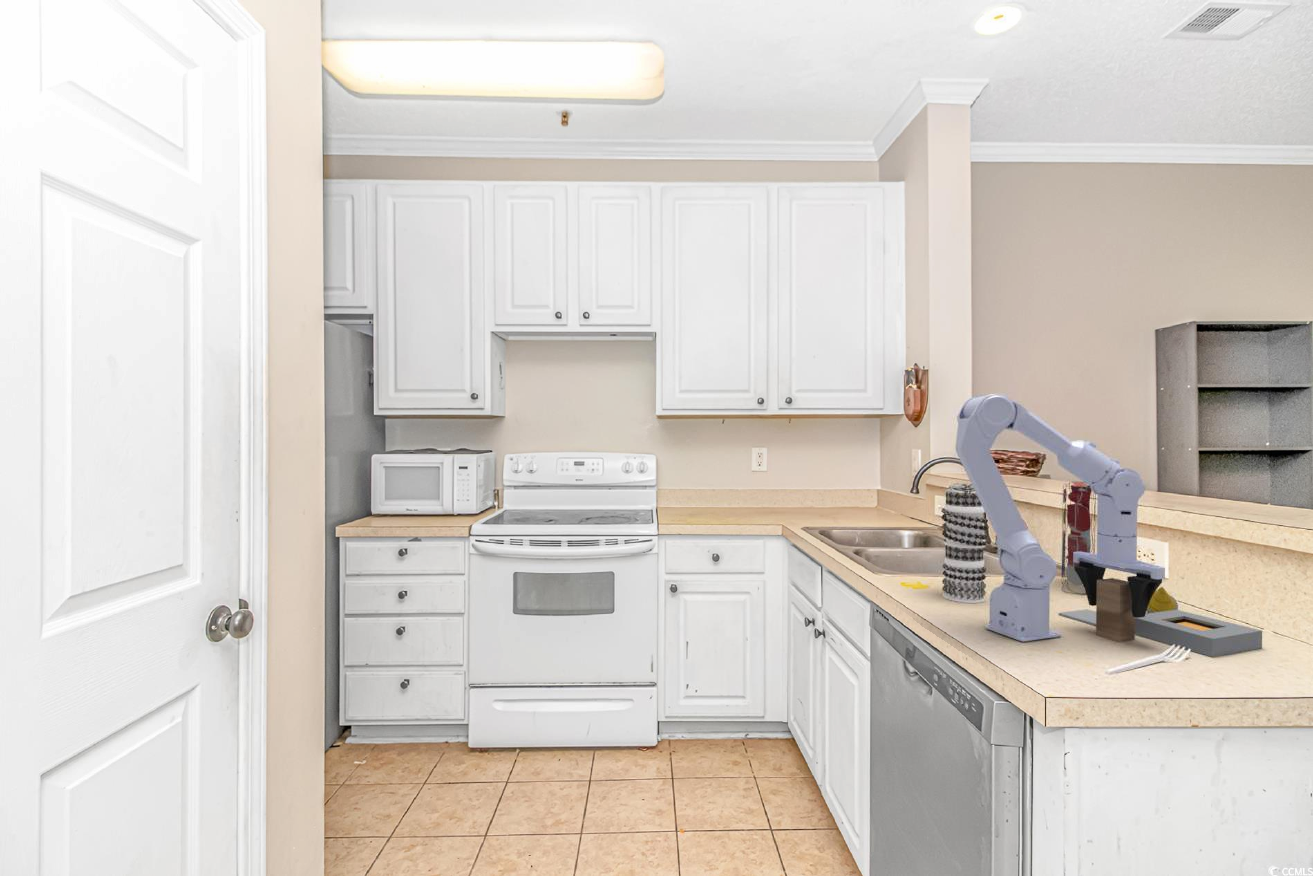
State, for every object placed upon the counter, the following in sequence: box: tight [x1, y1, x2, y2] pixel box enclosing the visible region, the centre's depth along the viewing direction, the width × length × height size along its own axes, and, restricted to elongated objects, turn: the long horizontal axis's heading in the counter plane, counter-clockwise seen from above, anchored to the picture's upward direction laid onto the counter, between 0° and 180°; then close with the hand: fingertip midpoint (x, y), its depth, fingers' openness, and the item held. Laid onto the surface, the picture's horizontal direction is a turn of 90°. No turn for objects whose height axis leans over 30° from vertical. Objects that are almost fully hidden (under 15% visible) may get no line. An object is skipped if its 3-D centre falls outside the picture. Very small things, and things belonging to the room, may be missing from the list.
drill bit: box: [1146, 586, 1179, 614], centre depth 122 cm, size 5×5×10 cm
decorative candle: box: [941, 482, 989, 604], centre depth 136 cm, size 9×9×25 cm
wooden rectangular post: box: [1095, 577, 1136, 643], centre depth 110 cm, size 4×4×10 cm
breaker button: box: [1175, 622, 1211, 631], centre depth 109 cm, size 6×6×1 cm
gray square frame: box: [1135, 609, 1263, 658], centre depth 109 cm, size 13×13×3 cm
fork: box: [1104, 644, 1191, 676], centre depth 98 cm, size 3×20×2 cm, turn 114°
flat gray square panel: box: [1058, 608, 1096, 627], centre depth 121 cm, size 8×8×1 cm
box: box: [1061, 481, 1097, 596], centre depth 142 cm, size 25×6×24 cm, turn 144°
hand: (1116, 610), depth 110 cm, fingers open, 7 cm apart
